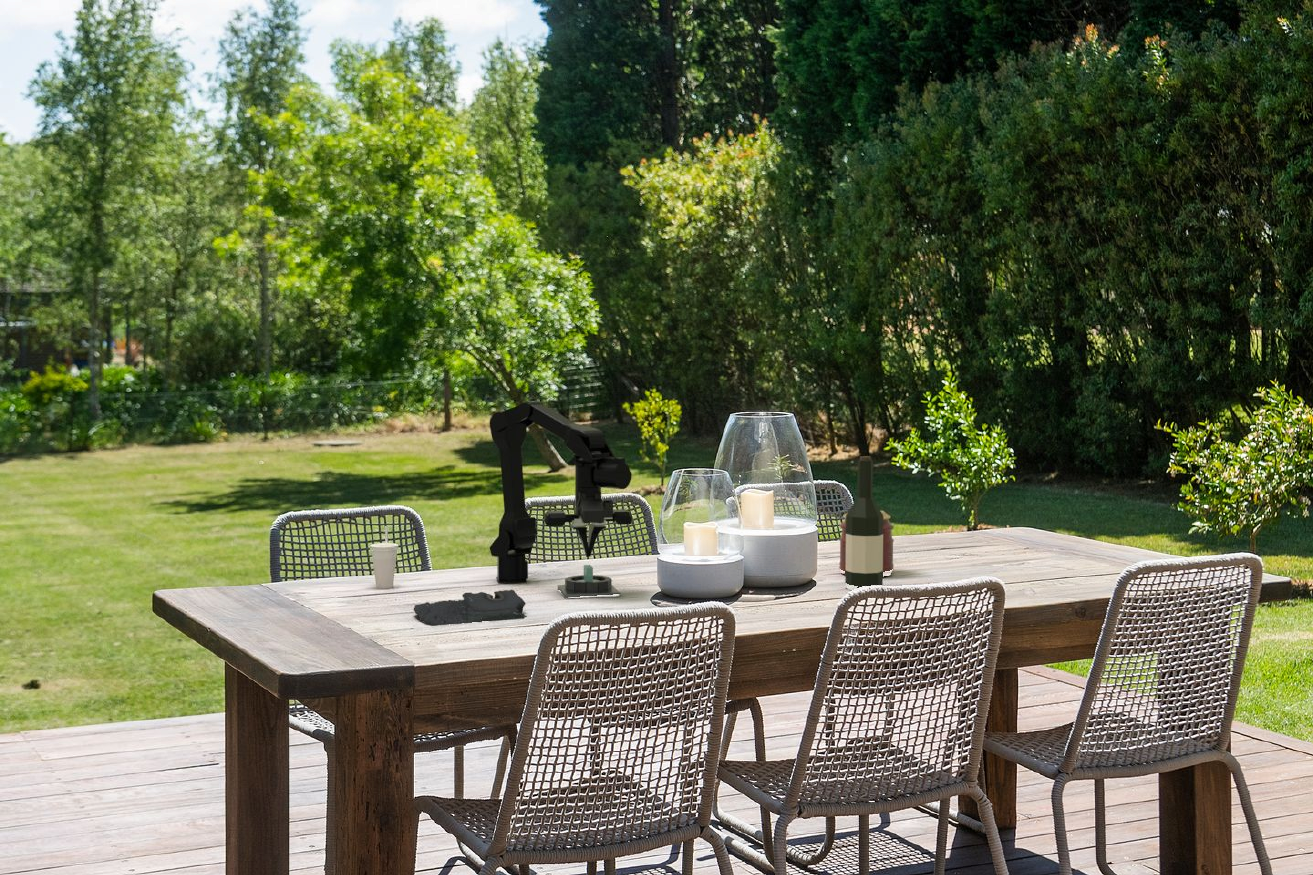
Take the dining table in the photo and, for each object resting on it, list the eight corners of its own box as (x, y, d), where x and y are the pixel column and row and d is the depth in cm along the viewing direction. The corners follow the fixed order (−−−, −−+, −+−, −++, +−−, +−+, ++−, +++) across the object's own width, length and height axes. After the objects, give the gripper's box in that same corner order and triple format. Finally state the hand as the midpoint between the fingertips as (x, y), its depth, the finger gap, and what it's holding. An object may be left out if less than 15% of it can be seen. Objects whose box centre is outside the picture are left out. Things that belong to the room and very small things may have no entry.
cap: (577, 591, 291) (577, 568, 291) (573, 587, 296) (573, 564, 296) (602, 590, 292) (602, 567, 292) (598, 586, 298) (598, 563, 297)
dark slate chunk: (406, 615, 271) (406, 592, 271) (509, 607, 280) (509, 585, 280) (426, 629, 257) (426, 605, 257) (534, 620, 266) (534, 596, 266)
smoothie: (392, 590, 298) (391, 528, 297) (365, 589, 299) (364, 527, 298) (403, 585, 304) (402, 524, 303) (377, 584, 305) (376, 523, 304)
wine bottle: (881, 585, 304) (882, 455, 303) (883, 592, 296) (885, 458, 294) (844, 585, 305) (845, 455, 304) (846, 591, 297) (847, 457, 295)
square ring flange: (565, 598, 287) (565, 584, 287) (557, 589, 299) (557, 575, 299) (620, 596, 290) (620, 582, 290) (610, 587, 301) (610, 573, 301)
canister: (828, 572, 324) (829, 500, 323) (873, 568, 330) (874, 498, 329) (858, 580, 312) (859, 505, 311) (904, 576, 318) (905, 503, 317)
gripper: (551, 490, 283) (551, 563, 284) (636, 489, 287) (636, 560, 288) (544, 485, 294) (544, 555, 295) (626, 484, 298) (626, 553, 299)
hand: (588, 556), depth 294 cm, fingers closed
